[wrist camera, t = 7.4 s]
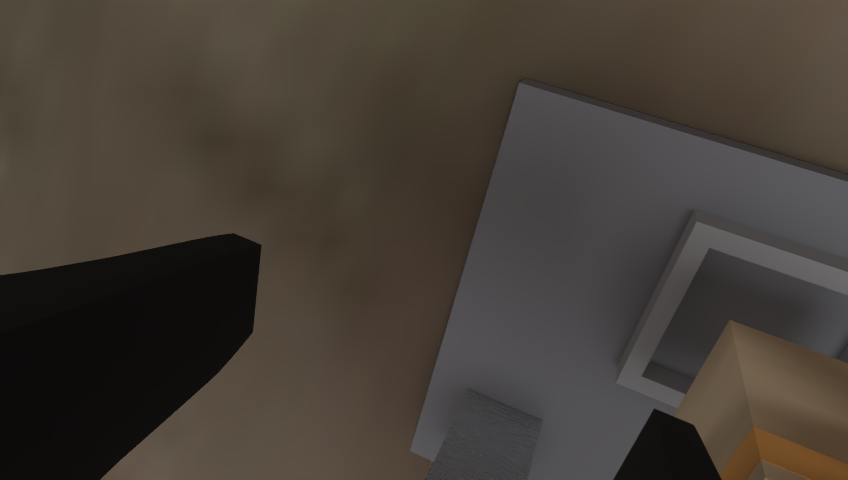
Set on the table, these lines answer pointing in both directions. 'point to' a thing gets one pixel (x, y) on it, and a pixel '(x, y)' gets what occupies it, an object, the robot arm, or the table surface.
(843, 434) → the taped cardboard box
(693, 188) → the base board
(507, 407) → the post
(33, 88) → the table surface
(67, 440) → the robot arm
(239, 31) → the table surface
